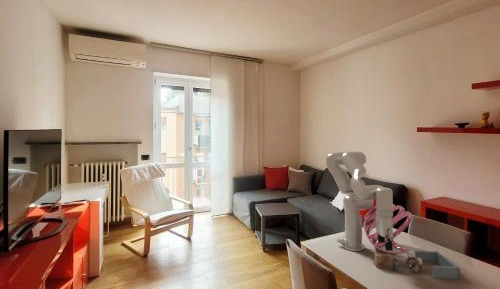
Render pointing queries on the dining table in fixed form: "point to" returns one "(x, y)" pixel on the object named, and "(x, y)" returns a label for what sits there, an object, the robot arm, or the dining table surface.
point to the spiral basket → (394, 221)
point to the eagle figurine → (414, 264)
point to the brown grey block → (386, 262)
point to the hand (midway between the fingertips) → (385, 246)
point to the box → (446, 266)
